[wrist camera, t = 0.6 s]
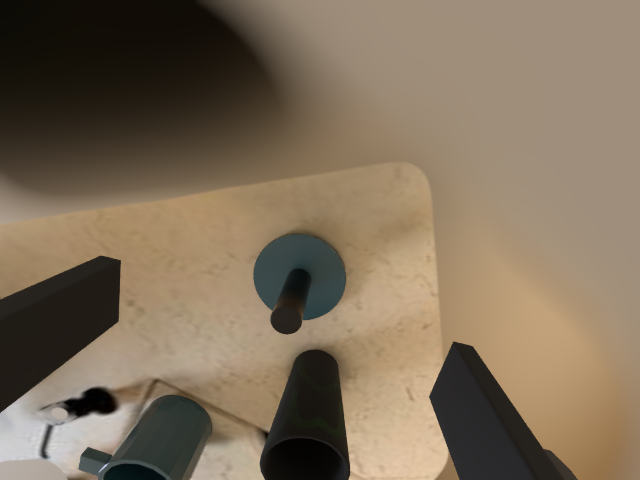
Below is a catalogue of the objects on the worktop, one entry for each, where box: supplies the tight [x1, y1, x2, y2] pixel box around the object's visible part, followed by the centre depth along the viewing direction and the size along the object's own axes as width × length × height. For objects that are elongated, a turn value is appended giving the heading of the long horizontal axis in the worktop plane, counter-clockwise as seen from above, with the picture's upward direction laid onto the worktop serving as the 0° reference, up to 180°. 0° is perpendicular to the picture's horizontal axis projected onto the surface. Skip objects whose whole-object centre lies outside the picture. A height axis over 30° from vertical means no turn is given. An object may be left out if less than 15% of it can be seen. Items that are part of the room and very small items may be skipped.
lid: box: [253, 234, 346, 334], centre depth 28 cm, size 10×10×9 cm
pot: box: [79, 396, 212, 480], centre depth 36 cm, size 9×15×8 cm, turn 69°
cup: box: [260, 350, 350, 480], centre depth 30 cm, size 8×8×12 cm
